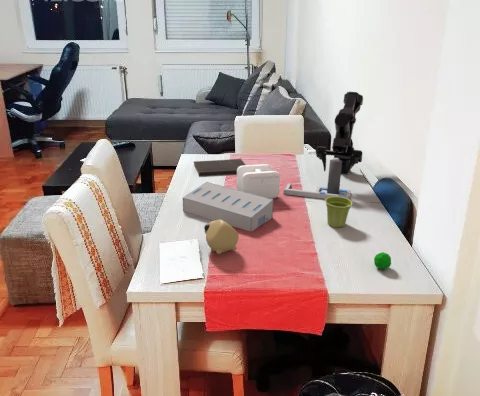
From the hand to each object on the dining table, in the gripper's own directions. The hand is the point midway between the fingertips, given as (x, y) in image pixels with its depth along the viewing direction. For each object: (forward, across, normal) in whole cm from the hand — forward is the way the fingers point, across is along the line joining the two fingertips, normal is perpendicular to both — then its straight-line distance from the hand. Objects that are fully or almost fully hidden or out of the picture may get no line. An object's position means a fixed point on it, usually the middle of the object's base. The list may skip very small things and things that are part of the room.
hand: (335, 172), depth 204 cm
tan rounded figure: (+51, -26, -41) cm, 70 cm away
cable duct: (+9, -6, +2) cm, 11 cm away
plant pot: (+28, +5, -18) cm, 34 cm away
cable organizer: (+18, -28, -6) cm, 34 cm away
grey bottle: (+8, 0, +3) cm, 9 cm away
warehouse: (+32, -34, -21) cm, 51 cm away
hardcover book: (0, -53, +13) cm, 55 cm away
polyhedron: (+47, +22, -37) cm, 64 cm away
